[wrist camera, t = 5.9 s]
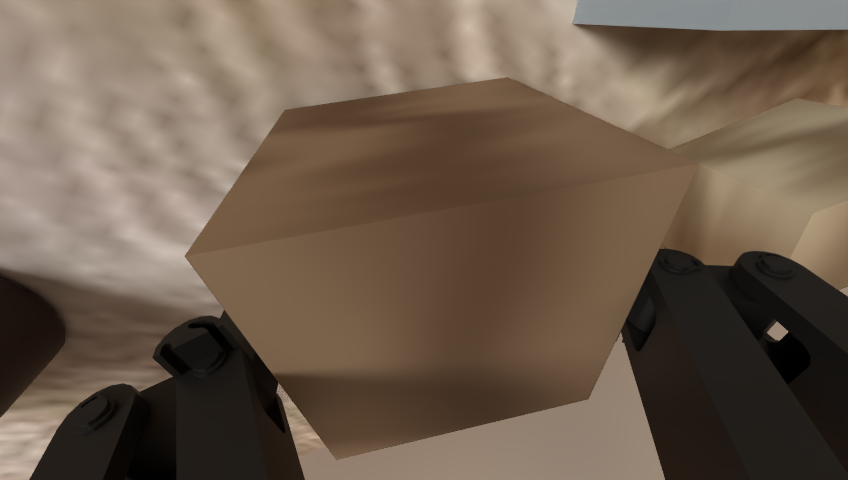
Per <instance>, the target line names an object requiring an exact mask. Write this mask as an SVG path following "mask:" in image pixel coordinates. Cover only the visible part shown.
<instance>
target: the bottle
mask: <svg viewBox="0 0 848 480" xmlns="http://www.w3.org/2000/svg"><path fill="white" fill-rule="evenodd" d="M64 342H65V327H64V325H63V324H62V322H61V321H60V319H59V317H58V316H57V314H56V313H55V311H54V310H53V309H52V308H51V307H50V306H49V305H47V304H46V303H45V302H44V301H43V300H41V299H40V298H39V297H38V296H36V295H35V294H34V293H32V292H30V291H28V290H26V289H24V288H22V287H20V286H18V285H16V284H14V283H13V282H11V281H9V280H6V279H3V278H1V277H0V418H1V417H2V415H3V414H4V413H5V412H6V411H7V410H8V409H9V407H10V406H11V405H12V404H13V403H14V402H15V401H16V400H17V398H18V397H19V396H20V395H21V394H22V393H23V392H24V390H25V389H26V388H27V387H28V386H29V385H30V384H31V383H32V381H33V380H34V379H35V378H36V377H37V376H38V375H39V374H40V372H41V371H42V370H43V369H44V368H45V367H46V366H47V364H48V363H49V362H50V361H51V360H52V359H53V358H54V357H55V355H56V354H57V353H58V351H59V350H60V349H61V347H62V346H63V344H64Z"/></svg>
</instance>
